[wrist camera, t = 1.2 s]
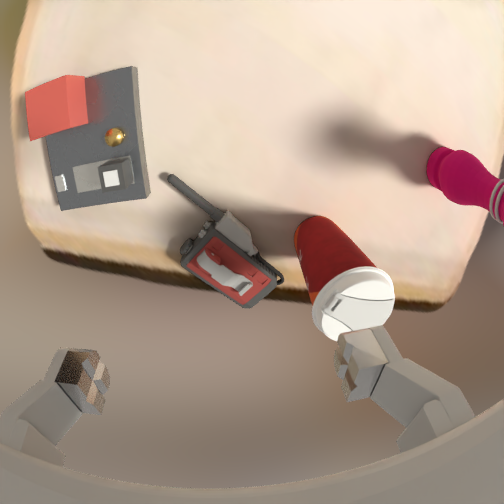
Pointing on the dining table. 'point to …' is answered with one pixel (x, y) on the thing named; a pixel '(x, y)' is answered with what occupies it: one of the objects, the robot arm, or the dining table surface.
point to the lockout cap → (56, 106)
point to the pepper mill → (466, 181)
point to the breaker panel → (101, 143)
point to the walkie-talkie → (226, 255)
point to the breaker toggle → (115, 175)
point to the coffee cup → (341, 279)
